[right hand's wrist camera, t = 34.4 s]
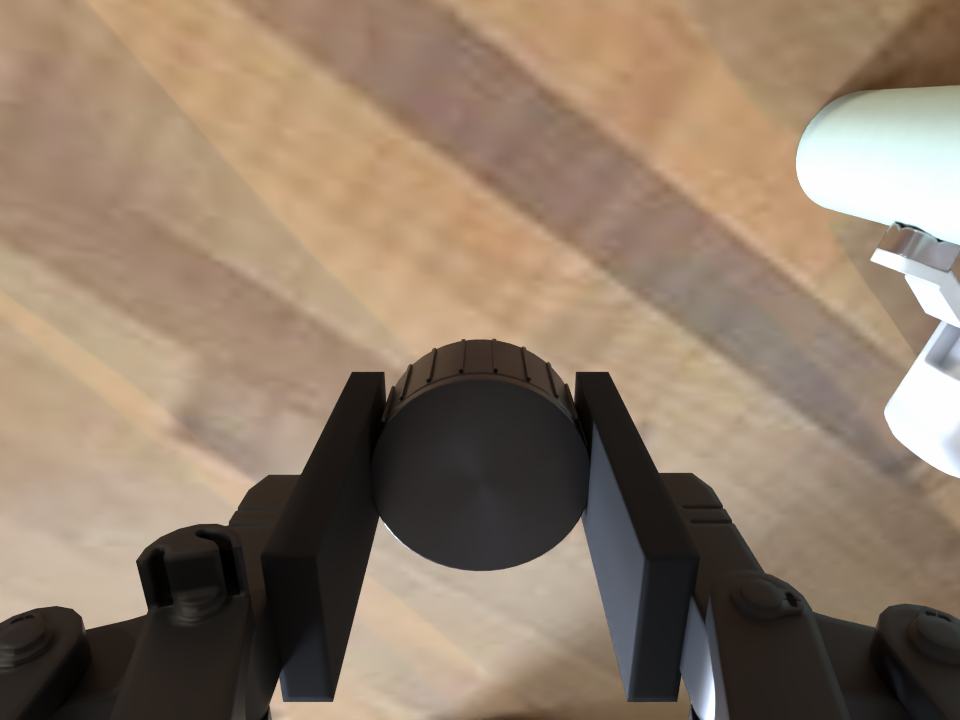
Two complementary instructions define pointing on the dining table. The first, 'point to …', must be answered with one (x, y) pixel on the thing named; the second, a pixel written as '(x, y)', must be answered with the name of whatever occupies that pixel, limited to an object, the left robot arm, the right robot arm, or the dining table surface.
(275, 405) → the dining table surface
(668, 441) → the dining table surface
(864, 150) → the bottle
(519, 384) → the cap
